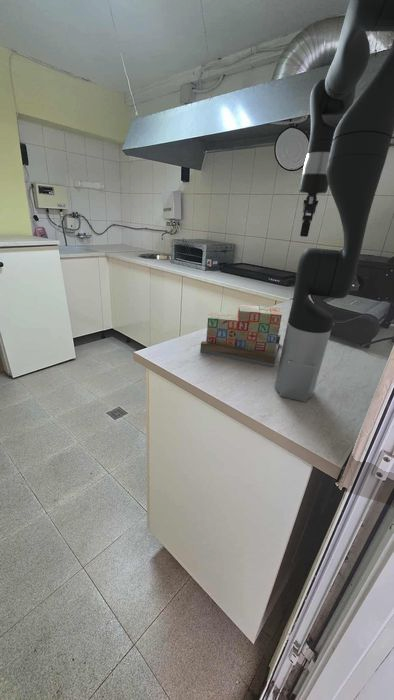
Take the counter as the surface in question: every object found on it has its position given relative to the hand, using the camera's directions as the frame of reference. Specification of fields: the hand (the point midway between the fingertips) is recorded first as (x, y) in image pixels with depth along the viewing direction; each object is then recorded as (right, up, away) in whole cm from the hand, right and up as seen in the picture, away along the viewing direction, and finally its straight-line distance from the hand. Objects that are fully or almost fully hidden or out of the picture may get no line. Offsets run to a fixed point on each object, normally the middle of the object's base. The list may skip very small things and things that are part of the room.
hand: (304, 235), depth 87 cm
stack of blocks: (-19, -34, +3) cm, 39 cm away
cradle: (-19, -34, +4) cm, 39 cm away
